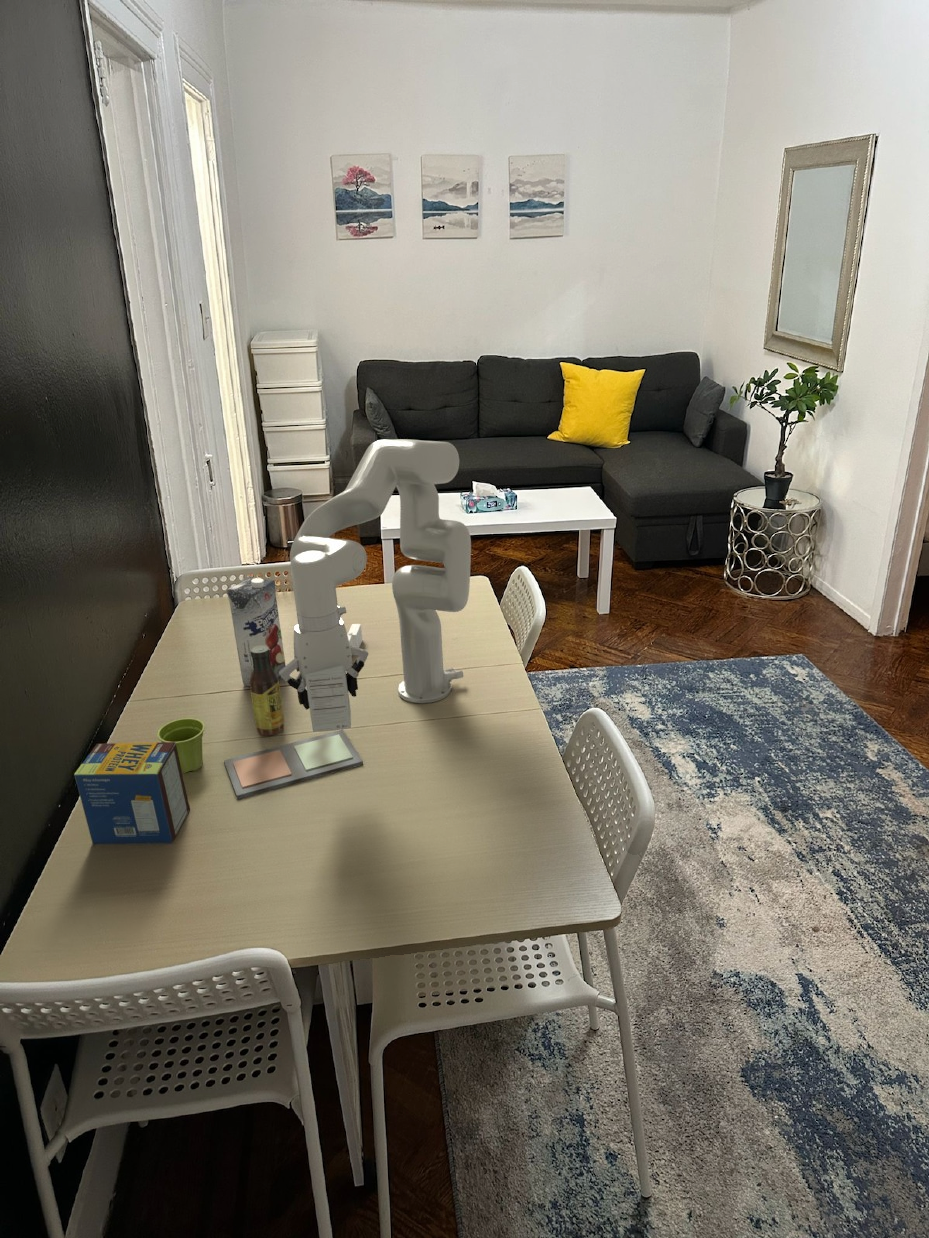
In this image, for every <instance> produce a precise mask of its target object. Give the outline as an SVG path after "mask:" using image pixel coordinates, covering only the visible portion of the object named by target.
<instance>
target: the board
mask: <svg viewBox="0 0 929 1238" xmlns="http://www.w3.org/2000/svg"><path fill="white" fill-rule="evenodd" d="M223 763H224V766H225V769H226V772H227V775H228V778H229V779H230V783H231V786H232V787H233V791H234V794H235V796H236V799H238V800H239V799H242V798H246V797H251V796H253V795H257V794H261V793H264V792H268V791H271V790H275V789H279V788H282V787H285V786H289V785H290V786H291V785H295V784H297V783H300V782H304V781H308V780H311V779H315V778H319V777H323V776H325V775H330V774H334V773H337V772H340V771H344V770H348V769H351V768H355V767H359V766H362V765H364V761H363V759H362V757H361V756H360V755H359V753H358V751H357V750H356V748H355V747H354V745H353V743H352V742H351V740H350V738H349V736H348V735H347V733H346V732H345V729H340V730H334V731H332V732H328V733H324V734H321V735H316V736H313V737H309V738H304V739H301V740H298V741H297V740H296V741H293V742H290V743H285V744H282V745H277V746H273V747H270V748H265V749H262V750H259V751H255V752H251V753H247V754H243V755H239V756H234V757H231V758H227V759H223Z"/></svg>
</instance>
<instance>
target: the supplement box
mask: <svg viewBox="0 0 929 1238" xmlns="http://www.w3.org/2000/svg"><path fill="white" fill-rule="evenodd" d="M346 674H347V671H345V670H344V665H341V666H337V667H333V668H329V669H325V670H321V671H317V672H313V673H309V674H305V680H306V687H305V688H306V690H307V694H308V701H309V715H310V720H311V726H312V732H314V733H320V732H328V731H339V730H347V729H348V730H349V729H351V727H352V719H351V718H352V714H351V713H352V711H351V703H350V696H349V695H350V693H349V691H348V686H347V678H346Z"/></svg>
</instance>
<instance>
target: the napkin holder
mask: <svg viewBox="0 0 929 1238" xmlns="http://www.w3.org/2000/svg"><path fill="white" fill-rule="evenodd" d="M362 631H363V630H362V624H361V623H352V624H351V626H350V628H349V630H348V631H347V636H348V640H349V644H350V646H354V647H358V648H360V647H361V646H362V645H361V644H362V642H363V633H362Z"/></svg>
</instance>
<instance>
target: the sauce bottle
mask: <svg viewBox="0 0 929 1238" xmlns="http://www.w3.org/2000/svg"><path fill="white" fill-rule="evenodd" d="M250 652H251V657H252V660H253V668H254V669H253V672H252V673H251V676H250V685H251V687H250V694H251V695H250V696H251V703H252V709H253V716H254V723H255V724H254V725H255V727H256V731H257V733H258V734H259V735H262V736H274V735H277V734H280V733H281V732H282V731H283V730H284V726H285V725H284V724H285V719H284V711H283V710H284V709H283V703H282V695H281V689H280V688H281V687H280V679H279V680H278V678H277V676H276V674H275V672H274V670H273V668H272V667H271V663H270V650H269V647H267V646H264V645H261V646H256V647H253V648H252V649H251V650H250Z"/></svg>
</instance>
